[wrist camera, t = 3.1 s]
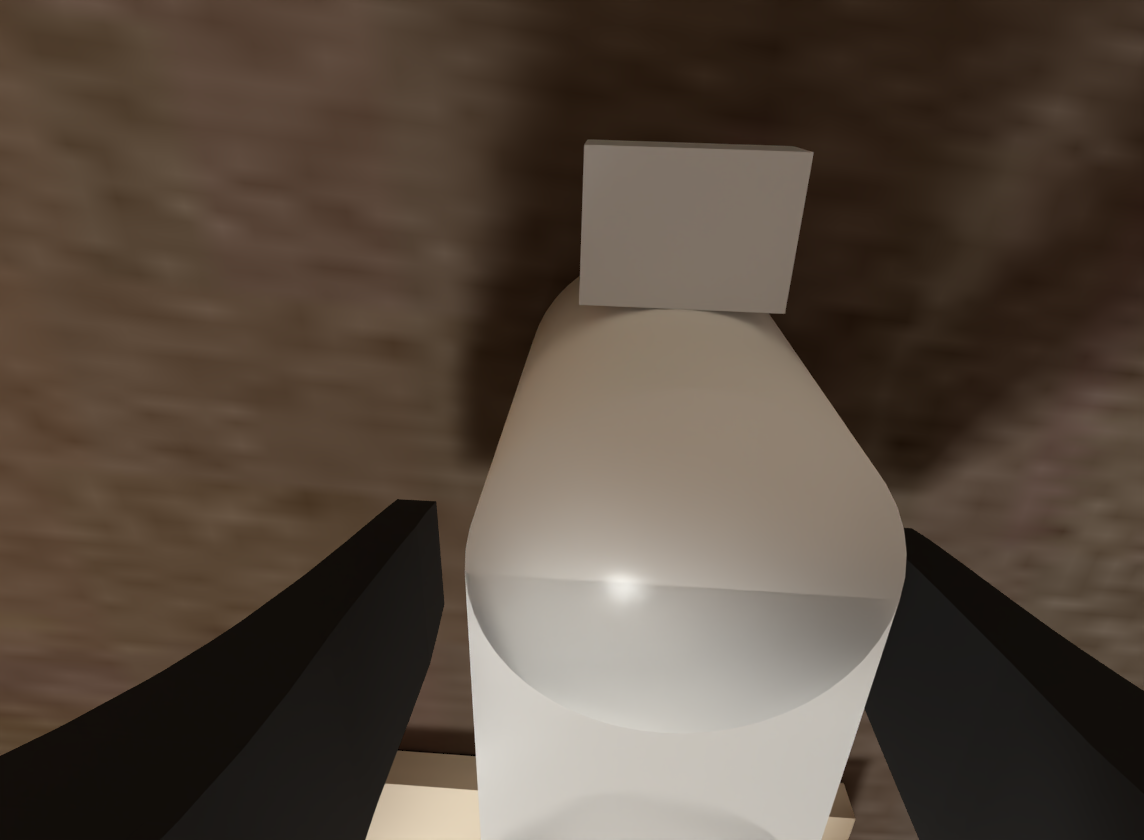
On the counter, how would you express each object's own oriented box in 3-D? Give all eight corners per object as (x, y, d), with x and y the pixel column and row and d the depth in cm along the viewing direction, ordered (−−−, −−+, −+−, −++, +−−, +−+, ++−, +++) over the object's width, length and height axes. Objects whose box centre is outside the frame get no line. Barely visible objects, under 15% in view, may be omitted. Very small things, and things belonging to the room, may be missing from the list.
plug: (528, 127, 9) (440, 162, 5) (823, 137, 9) (1035, 182, 4) (530, 679, 14) (488, 962, 9) (721, 692, 14) (773, 986, 9)
